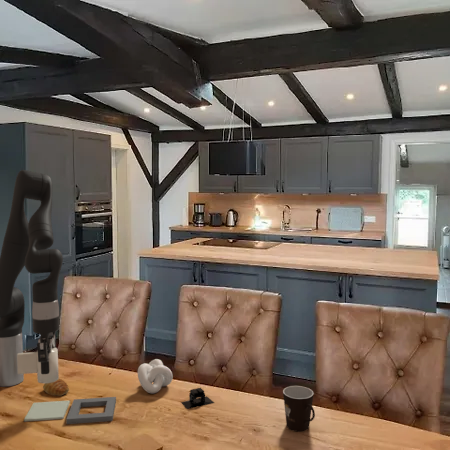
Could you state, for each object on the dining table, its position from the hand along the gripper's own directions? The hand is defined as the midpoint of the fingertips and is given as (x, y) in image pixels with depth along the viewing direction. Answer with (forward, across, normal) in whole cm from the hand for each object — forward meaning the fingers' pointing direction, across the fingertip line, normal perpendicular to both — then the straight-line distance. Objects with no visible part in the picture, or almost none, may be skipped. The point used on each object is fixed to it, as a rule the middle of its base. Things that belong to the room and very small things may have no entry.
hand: (47, 369), depth 142 cm
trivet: (+13, 0, 0) cm, 13 cm away
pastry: (+14, +15, +1) cm, 20 cm away
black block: (+14, -1, -45) cm, 47 cm away
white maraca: (+3, 0, +3) cm, 4 cm away
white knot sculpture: (+14, +11, -31) cm, 36 cm away
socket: (+13, -3, -13) cm, 19 cm away
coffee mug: (+14, -22, -72) cm, 77 cm away
